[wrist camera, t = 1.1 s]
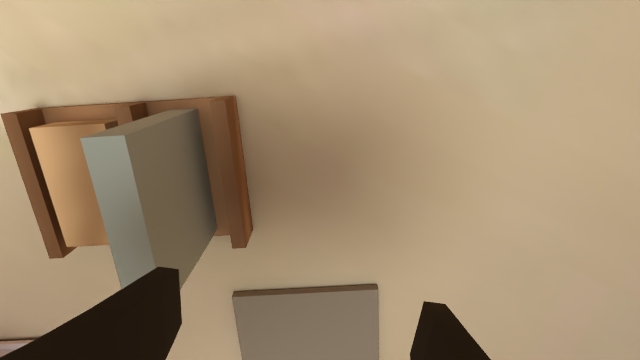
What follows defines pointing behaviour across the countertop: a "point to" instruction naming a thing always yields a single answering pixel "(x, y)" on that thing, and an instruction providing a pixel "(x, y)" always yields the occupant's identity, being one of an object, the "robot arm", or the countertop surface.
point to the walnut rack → (213, 115)
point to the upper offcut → (71, 180)
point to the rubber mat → (308, 323)
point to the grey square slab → (153, 192)
